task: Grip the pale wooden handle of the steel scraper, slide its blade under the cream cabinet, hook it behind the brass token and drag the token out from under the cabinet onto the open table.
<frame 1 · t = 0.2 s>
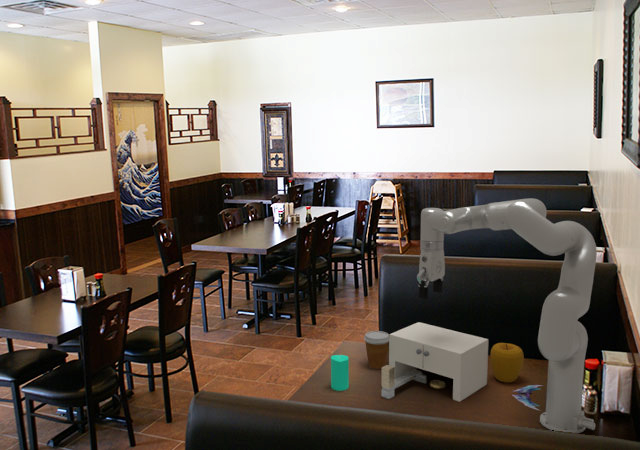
hand: (430, 295, 201), 31 cm above the table, tool pointing down, fingers open, 9 cm apart
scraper: (387, 396, 196), on the table
cabinet: (437, 381, 207), on the table
apple: (505, 380, 208), on the table
disposable coffee cup: (376, 366, 221), on the table
brass token: (437, 386, 204), on the table
decorative blades: (527, 396, 195), on the table
candle: (339, 387, 203), on the table
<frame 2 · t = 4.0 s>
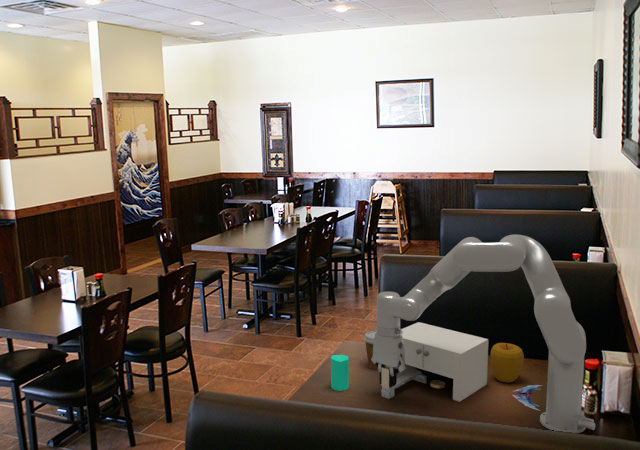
hand: (387, 384, 195), 4 cm above the table, tool pointing down, fingers closed on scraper, 3 cm apart
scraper: (387, 396, 196), on the table, touching gripper
everything else where it was.
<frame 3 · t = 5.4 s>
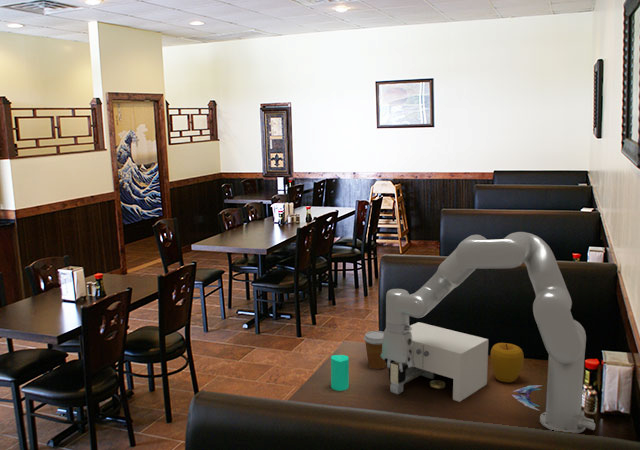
hand: (397, 379, 199), 4 cm above the table, tool pointing down, fingers closed on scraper, 3 cm apart
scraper: (396, 391, 199), on the table, touching gripper
everything else where it was.
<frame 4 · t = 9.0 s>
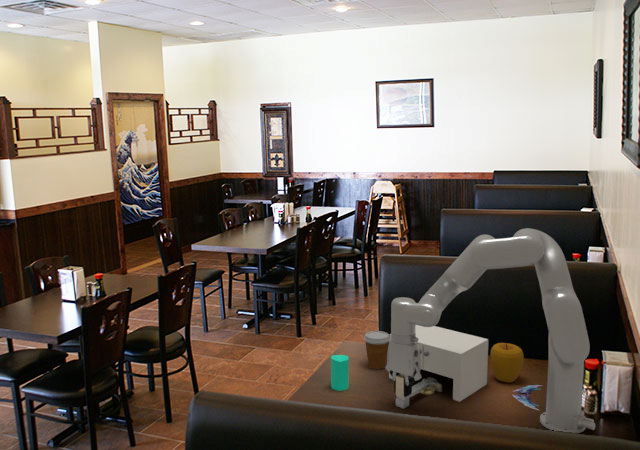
hand: (402, 393, 188), 4 cm above the table, tool pointing down, fingers closed on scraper, 3 cm apart
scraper: (402, 405, 189), on the table, touching gripper
brass token: (426, 391, 199), on the table
everything else where it was.
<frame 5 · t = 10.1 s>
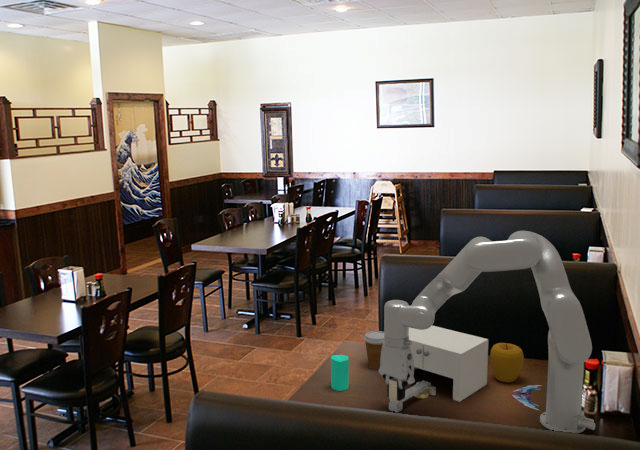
hand: (396, 396, 186), 4 cm above the table, tool pointing down, fingers closed on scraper, 3 cm apart
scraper: (395, 409, 186), on the table, touching gripper
brass token: (420, 396, 196), on the table
everything else where it was.
when the fingers open (4 cm above the table, at t = 11.0 s): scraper stays where it is, on the table.
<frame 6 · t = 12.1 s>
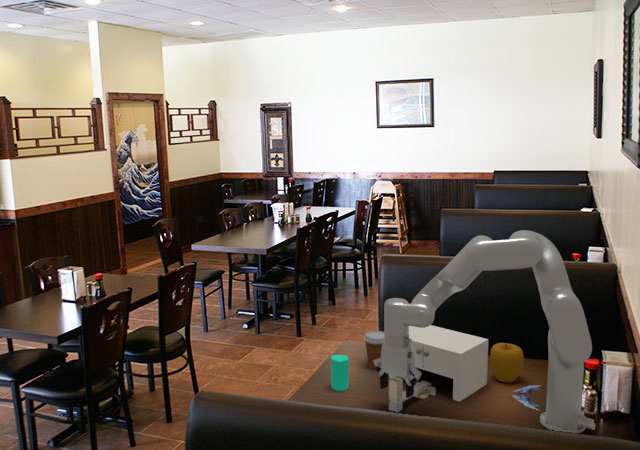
hand: (396, 391, 185), 6 cm above the table, tool pointing down, fingers open, 9 cm apart
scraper: (395, 409, 186), on the table
everything else where it was.
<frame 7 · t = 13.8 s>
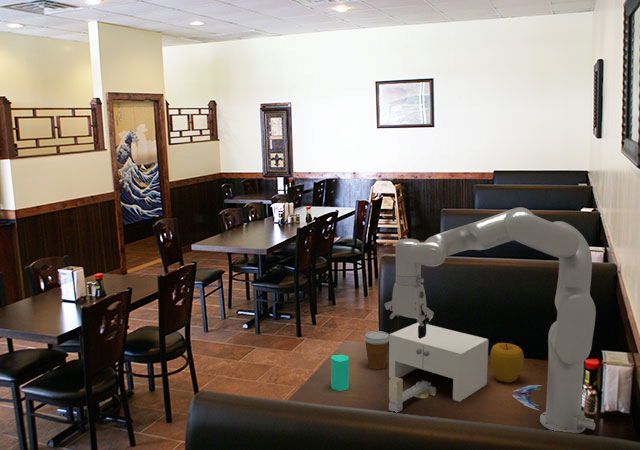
hand: (408, 334, 184), 24 cm above the table, tool pointing down, fingers open, 9 cm apart
nothing on the table moved.
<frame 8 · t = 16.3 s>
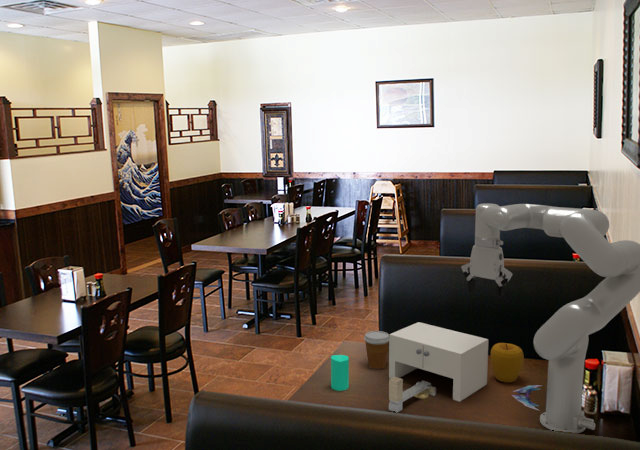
hand: (485, 294, 193), 33 cm above the table, tool pointing down, fingers open, 9 cm apart
nothing on the table moved.
at the end: brass token inside the target area (3.6 cm from its centre), on the table; brass token moved 10.2 cm from its start; the gripper is holding nothing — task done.
